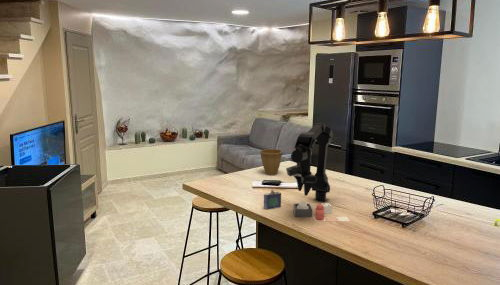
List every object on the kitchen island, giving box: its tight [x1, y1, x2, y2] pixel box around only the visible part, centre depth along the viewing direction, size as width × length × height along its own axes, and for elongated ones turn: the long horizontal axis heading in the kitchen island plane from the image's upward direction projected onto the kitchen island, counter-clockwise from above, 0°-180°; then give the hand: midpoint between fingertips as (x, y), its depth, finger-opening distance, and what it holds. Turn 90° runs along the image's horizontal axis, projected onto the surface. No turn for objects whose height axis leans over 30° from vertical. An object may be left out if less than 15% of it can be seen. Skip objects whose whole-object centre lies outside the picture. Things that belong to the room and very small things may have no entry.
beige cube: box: [321, 202, 333, 215], centre depth 182 cm, size 4×4×4 cm
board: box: [312, 216, 350, 222], centre depth 177 cm, size 14×26×2 cm, turn 91°
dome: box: [297, 201, 309, 209], centre depth 179 cm, size 6×6×4 cm
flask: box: [263, 189, 282, 210], centre depth 188 cm, size 9×3×11 cm, turn 109°
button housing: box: [292, 203, 313, 218], centre depth 179 cm, size 8×8×4 cm
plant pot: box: [259, 148, 283, 176], centre depth 254 cm, size 15×15×16 cm
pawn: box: [314, 203, 325, 222], centre depth 173 cm, size 4×4×7 cm
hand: (302, 193), depth 176 cm, fingers open, 9 cm apart
